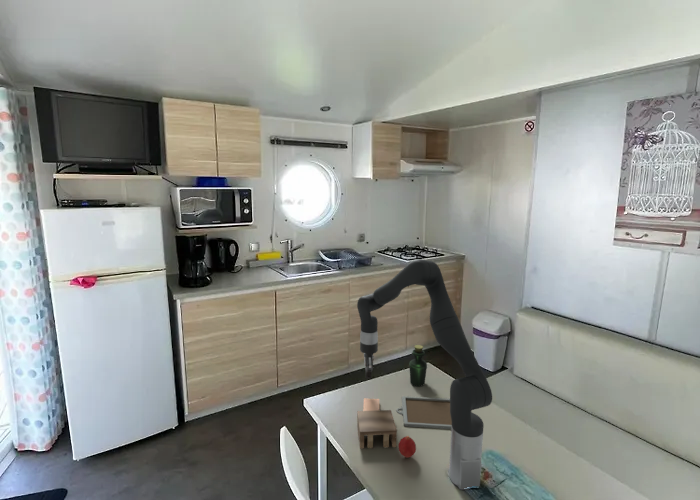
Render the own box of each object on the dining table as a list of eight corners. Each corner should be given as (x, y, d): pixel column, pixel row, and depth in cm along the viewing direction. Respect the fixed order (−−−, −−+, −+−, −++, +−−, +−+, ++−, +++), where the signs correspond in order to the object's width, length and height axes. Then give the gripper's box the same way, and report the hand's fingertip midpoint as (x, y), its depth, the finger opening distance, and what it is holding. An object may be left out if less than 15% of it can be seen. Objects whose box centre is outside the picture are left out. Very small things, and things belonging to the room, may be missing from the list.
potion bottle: (415, 377, 177) (416, 341, 174) (429, 383, 171) (431, 346, 168) (405, 383, 171) (406, 346, 168) (420, 389, 165) (421, 352, 163)
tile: (379, 423, 142) (379, 417, 142) (362, 422, 143) (362, 416, 142) (379, 404, 155) (379, 398, 155) (363, 403, 156) (363, 398, 155)
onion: (394, 456, 124) (395, 434, 123) (406, 448, 128) (406, 427, 127) (407, 466, 120) (408, 443, 119) (419, 457, 124) (419, 436, 122)
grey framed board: (477, 428, 137) (396, 423, 140) (477, 432, 138) (396, 427, 141) (466, 399, 156) (395, 395, 159) (466, 402, 156) (395, 399, 159)
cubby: (396, 447, 129) (396, 430, 128) (359, 448, 128) (360, 431, 127) (390, 425, 140) (391, 410, 139) (357, 426, 140) (357, 411, 139)
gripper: (379, 346, 150) (379, 386, 153) (375, 334, 163) (375, 370, 166) (361, 347, 150) (361, 386, 153) (358, 334, 163) (358, 370, 166)
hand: (368, 378), depth 159 cm, fingers closed
